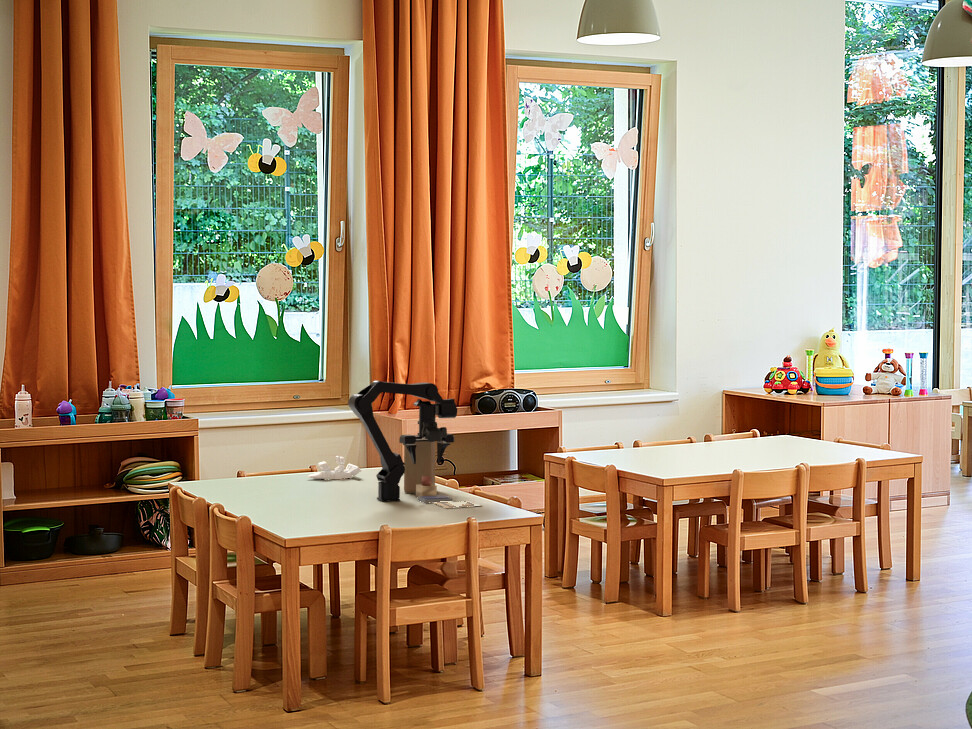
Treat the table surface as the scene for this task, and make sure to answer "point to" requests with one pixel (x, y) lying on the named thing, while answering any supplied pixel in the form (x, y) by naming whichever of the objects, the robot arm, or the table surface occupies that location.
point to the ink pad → (434, 498)
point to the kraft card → (448, 505)
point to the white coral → (336, 470)
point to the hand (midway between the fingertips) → (426, 463)
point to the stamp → (426, 487)
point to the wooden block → (419, 465)
